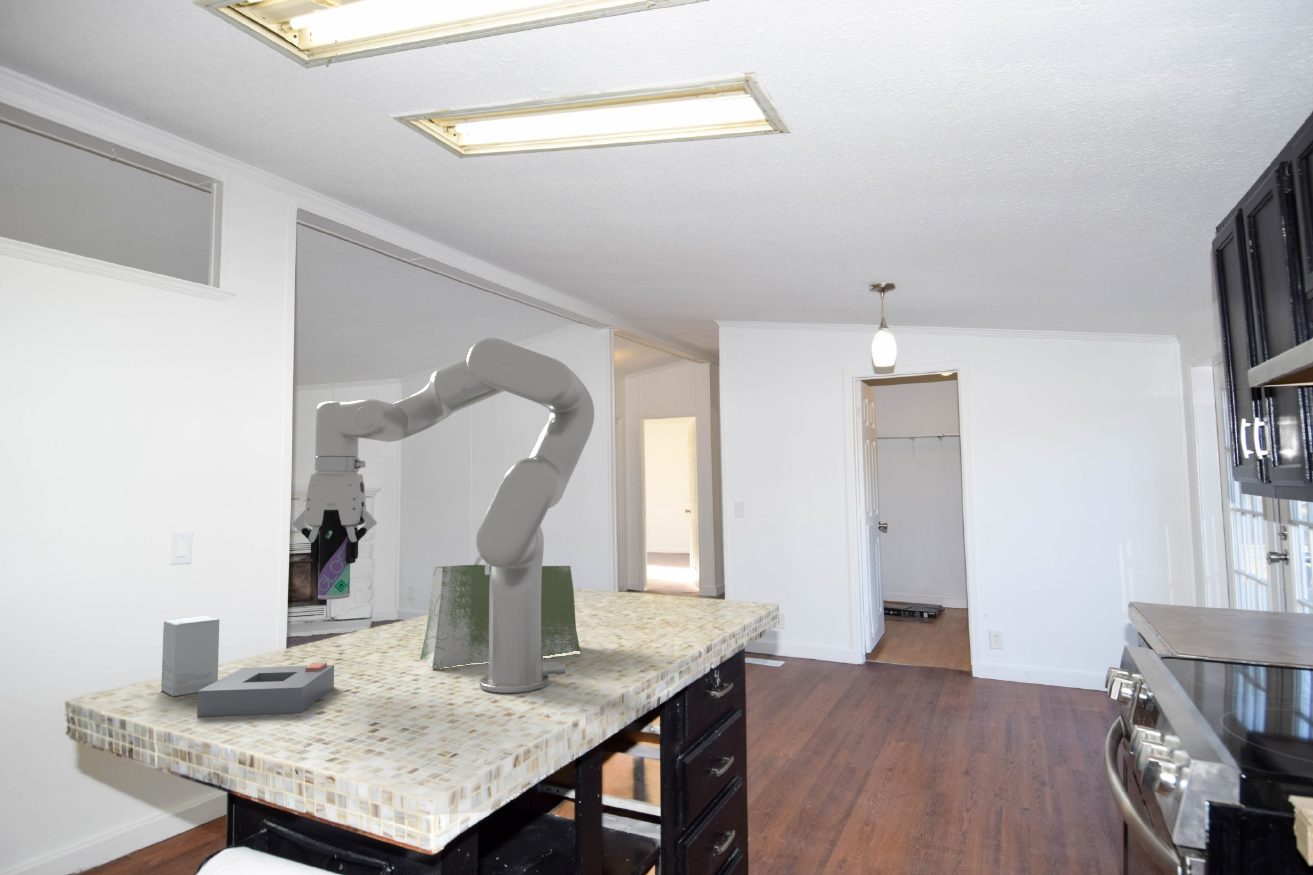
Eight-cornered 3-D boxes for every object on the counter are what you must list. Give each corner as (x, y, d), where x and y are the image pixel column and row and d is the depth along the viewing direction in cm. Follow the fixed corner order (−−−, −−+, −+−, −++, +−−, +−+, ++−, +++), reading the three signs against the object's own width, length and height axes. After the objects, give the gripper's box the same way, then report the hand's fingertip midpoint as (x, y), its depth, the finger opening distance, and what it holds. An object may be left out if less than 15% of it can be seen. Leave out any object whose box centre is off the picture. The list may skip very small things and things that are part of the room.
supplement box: (218, 689, 137) (220, 618, 138) (171, 697, 131) (174, 624, 132) (205, 682, 142) (207, 614, 143) (159, 690, 136) (162, 619, 137)
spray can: (322, 600, 137) (325, 490, 138) (314, 597, 141) (316, 490, 142) (353, 597, 140) (355, 490, 142) (344, 594, 144) (346, 490, 146)
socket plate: (333, 687, 137) (334, 661, 138) (301, 712, 121) (302, 683, 122) (242, 690, 136) (242, 664, 136) (197, 716, 120) (198, 687, 120)
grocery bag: (561, 643, 175) (561, 544, 177) (582, 655, 163) (581, 547, 164) (419, 658, 161) (421, 549, 163) (430, 671, 149) (431, 554, 151)
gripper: (388, 467, 146) (386, 560, 145) (297, 467, 145) (295, 562, 144) (376, 466, 139) (375, 564, 138) (281, 466, 138) (278, 565, 136)
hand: (334, 562), depth 141 cm, fingers closed on spray can, 5 cm apart
